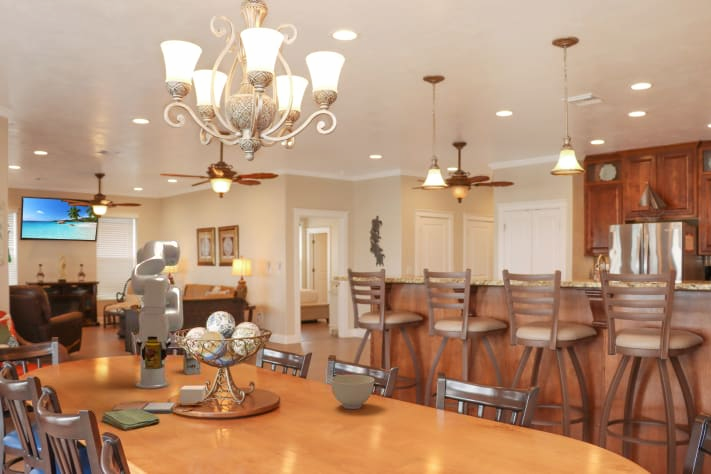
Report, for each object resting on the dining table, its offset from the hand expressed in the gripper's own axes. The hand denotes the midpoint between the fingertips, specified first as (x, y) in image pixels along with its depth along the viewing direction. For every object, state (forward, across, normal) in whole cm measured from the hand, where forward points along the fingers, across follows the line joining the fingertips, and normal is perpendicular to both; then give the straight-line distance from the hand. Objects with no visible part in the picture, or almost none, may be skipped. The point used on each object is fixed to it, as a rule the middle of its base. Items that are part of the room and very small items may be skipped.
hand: (154, 358), depth 237 cm
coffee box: (+18, +2, +53) cm, 56 cm away
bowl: (+15, +73, -8) cm, 75 cm away
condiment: (+3, 0, 0) cm, 3 cm away
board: (+15, 0, -12) cm, 20 cm away
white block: (+15, +15, -4) cm, 22 cm away
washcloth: (+16, 0, -27) cm, 31 cm away
